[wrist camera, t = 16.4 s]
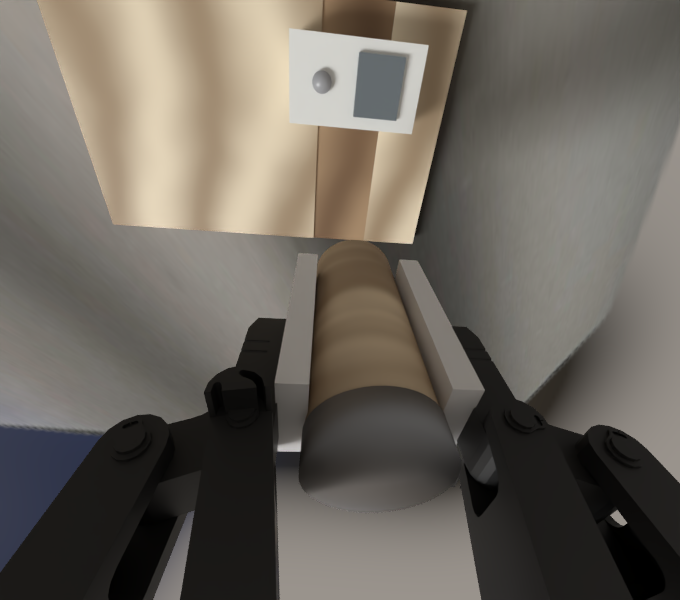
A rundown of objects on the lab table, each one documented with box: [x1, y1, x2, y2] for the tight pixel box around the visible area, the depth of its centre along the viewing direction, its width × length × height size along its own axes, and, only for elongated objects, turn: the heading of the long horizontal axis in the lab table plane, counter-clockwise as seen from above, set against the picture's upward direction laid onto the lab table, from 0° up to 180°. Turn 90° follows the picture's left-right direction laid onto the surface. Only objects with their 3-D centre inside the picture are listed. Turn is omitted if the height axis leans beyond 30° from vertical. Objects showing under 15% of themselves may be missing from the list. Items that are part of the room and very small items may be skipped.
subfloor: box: [37, 0, 467, 244], centre depth 21 cm, size 23×14×1 cm, turn 85°
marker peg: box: [299, 240, 462, 513], centre depth 10 cm, size 4×4×9 cm
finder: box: [289, 28, 429, 134], centre depth 17 cm, size 7×4×3 cm, turn 85°
